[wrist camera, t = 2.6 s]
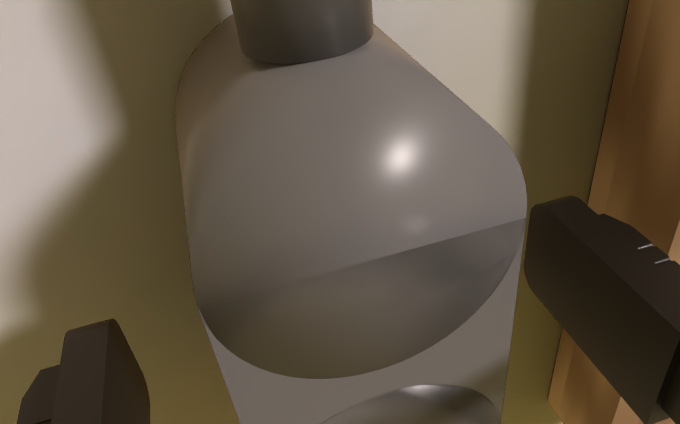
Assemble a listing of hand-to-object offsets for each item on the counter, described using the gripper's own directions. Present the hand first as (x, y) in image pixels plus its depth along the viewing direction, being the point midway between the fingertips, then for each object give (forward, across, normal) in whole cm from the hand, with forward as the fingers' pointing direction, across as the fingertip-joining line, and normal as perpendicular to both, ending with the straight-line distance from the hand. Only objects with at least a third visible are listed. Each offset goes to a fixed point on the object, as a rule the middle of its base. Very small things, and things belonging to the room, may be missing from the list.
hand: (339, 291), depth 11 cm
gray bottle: (+2, 0, 0) cm, 2 cm away
